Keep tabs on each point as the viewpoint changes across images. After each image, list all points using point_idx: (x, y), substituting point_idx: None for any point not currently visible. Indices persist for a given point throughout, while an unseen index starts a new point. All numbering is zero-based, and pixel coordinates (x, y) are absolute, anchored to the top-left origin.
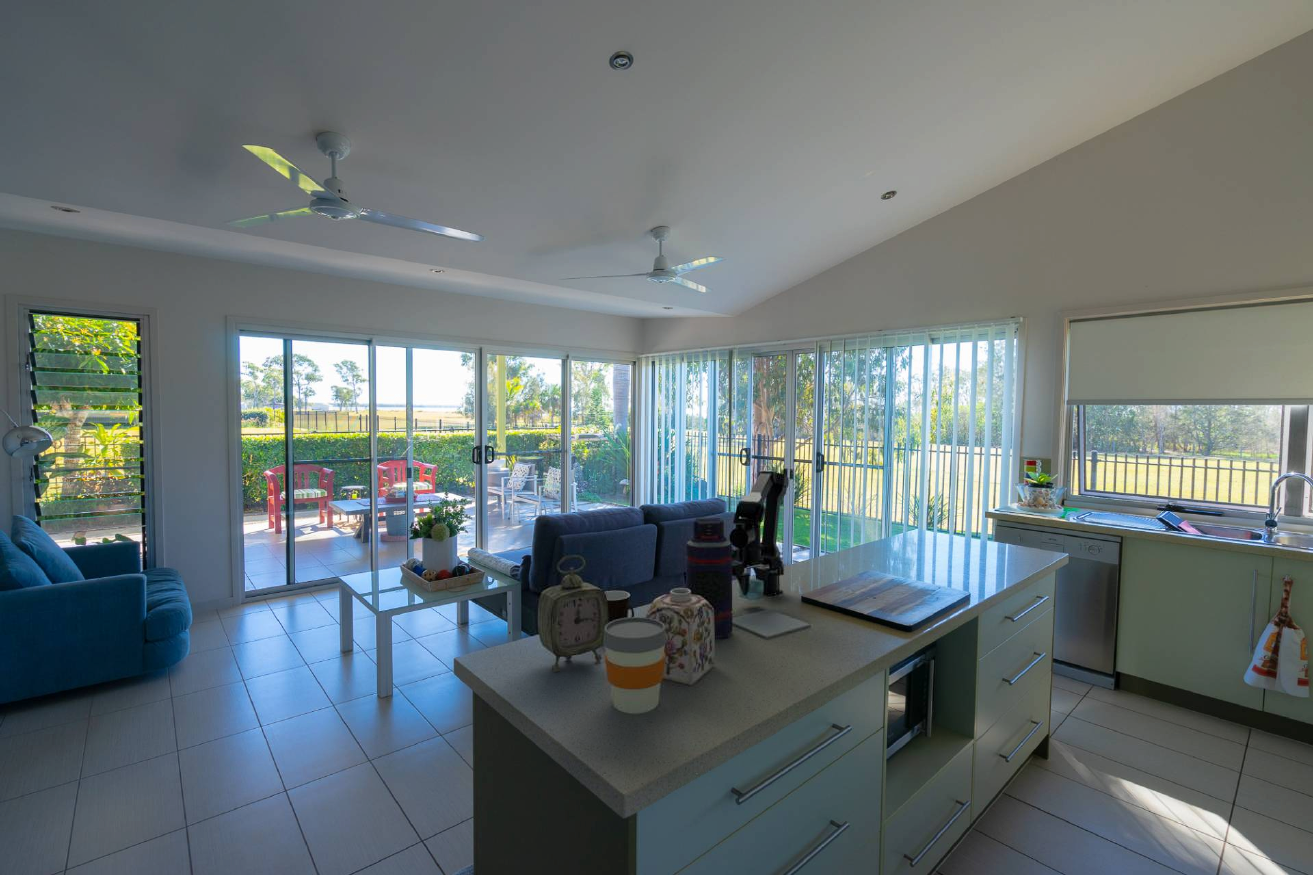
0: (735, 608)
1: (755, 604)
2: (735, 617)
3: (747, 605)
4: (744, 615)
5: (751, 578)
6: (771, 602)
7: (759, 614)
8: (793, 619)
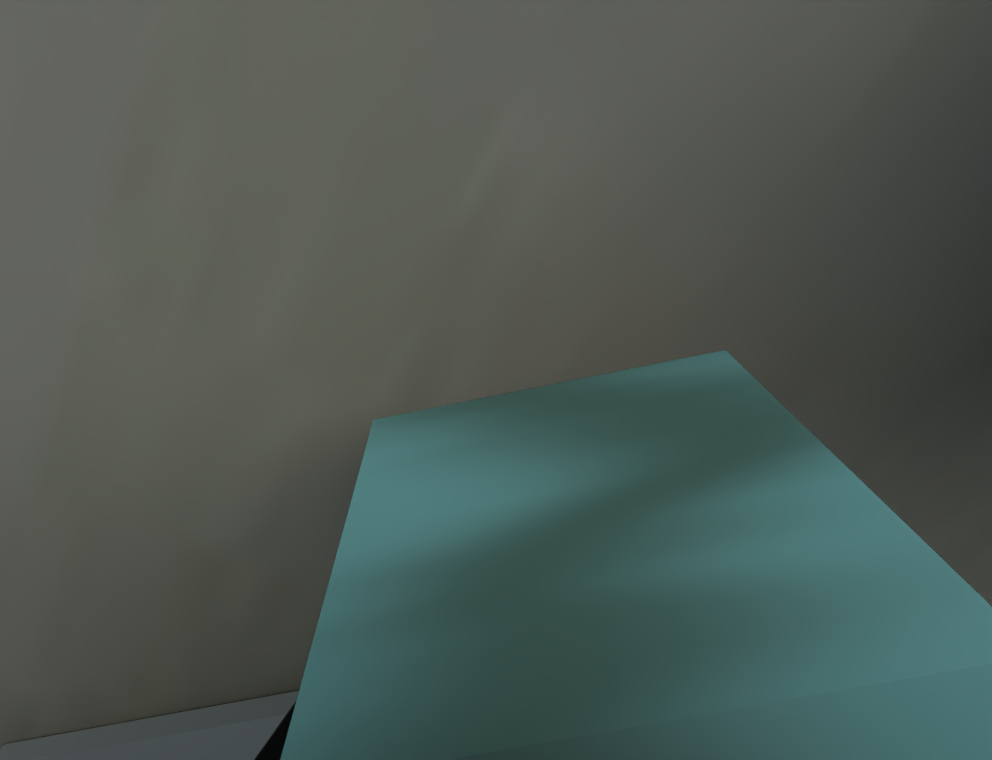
0: (285, 405)
1: (671, 356)
2: (121, 745)
3: (531, 351)
4: (250, 727)
5: (901, 747)
6: (942, 365)
7: None
8: None
